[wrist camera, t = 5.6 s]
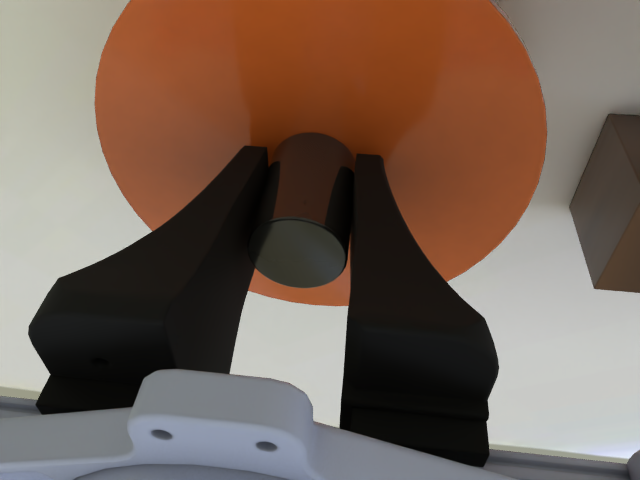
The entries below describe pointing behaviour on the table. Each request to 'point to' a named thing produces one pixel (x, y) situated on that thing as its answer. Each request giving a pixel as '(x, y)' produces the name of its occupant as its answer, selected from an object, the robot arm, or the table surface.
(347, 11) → the pan lid
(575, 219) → the block
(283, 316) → the table surface
